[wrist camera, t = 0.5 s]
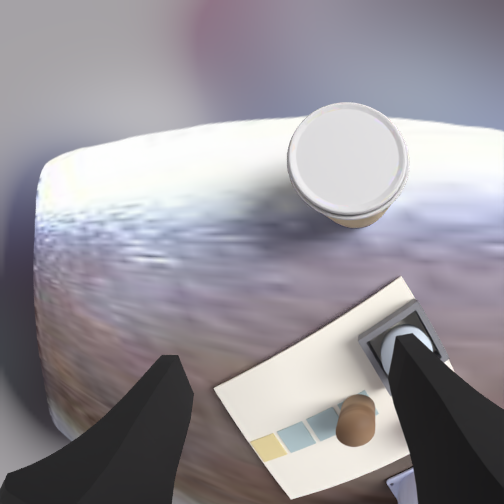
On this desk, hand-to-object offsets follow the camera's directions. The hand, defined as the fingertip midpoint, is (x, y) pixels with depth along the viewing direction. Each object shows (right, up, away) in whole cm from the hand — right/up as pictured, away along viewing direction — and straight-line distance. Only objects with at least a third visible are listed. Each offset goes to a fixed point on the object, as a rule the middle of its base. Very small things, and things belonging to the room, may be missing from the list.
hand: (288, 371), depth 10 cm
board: (+9, -13, +21) cm, 27 cm away
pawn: (+10, -13, +19) cm, 25 cm away
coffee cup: (+10, +10, +22) cm, 27 cm away
